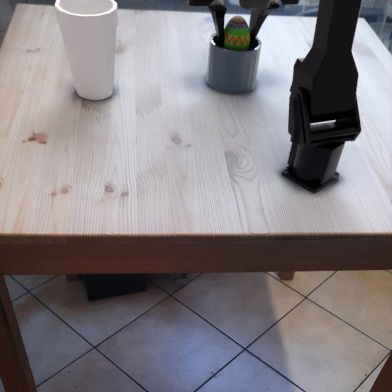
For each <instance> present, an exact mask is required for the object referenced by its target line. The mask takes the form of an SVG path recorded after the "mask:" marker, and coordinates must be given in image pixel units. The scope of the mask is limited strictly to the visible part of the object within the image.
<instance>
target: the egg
mask: <svg viewBox="0 0 392 392" xmlns="http://www.w3.org/2000/svg"><path fill="white" fill-rule="evenodd" d="M249 44H250V31H249V24H248V22H247V21H246V19H245V18H244V17H243V16H241V15H235V16H232V17H231V18H230V19H229V20H228V21H227V22H226V24H225V25H224V43H223V48H224V49H228V50H233V51H247V50H248V48H249Z"/></svg>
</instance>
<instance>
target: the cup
mask: <svg viewBox="0 0 392 392" xmlns="http://www.w3.org/2000/svg"><path fill="white" fill-rule="evenodd" d="M208 44H209V45H208V55H207V56H208V57H207V68H206V83H207V85H208V86H209V87H210V88H211V89H212V90H214V91H216V92H218V93H219V92H220V93H222V94H227V95H243V94H247V93H250V92H251V91H253V90H254V88H255V87H256V82H257V76H258V69H259V64H260V56H261V50H262V44H263V42H262V41H261V39H260V38H259V37H258V36H257V37H256V39H255V41H254V43H253V45H252V47H251V48H248V50H247V51H233V50H228V49H224V48H222V47H220V46H219V45H218V40H217V36H216V32H214V33H212V34H211V35H210V37H209V43H208Z"/></svg>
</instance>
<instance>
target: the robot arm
mask: <svg viewBox="0 0 392 392" xmlns="http://www.w3.org/2000/svg"><path fill="white" fill-rule="evenodd" d="M185 1H186V3H187V4H188V6H192V7H205V9H207V11H209V12H210V15H211V18H212V22H213V26H214V31H215V33H216V36H217V40H218V45H219V46H220V47H222V48H223V43H224V28H225V19H226V18H225V17H226V13H227V11H228V7H227V6H226V5H225V3H224V1H225V0H185ZM279 2H280V4H282V5H284V6H291V5H292V6H293V5H299V4H300V0H279ZM362 2H363V0H319V2H318V9H317V15H316V21H315V27H314V32H313V39H312V45H311V48H310V49H309V51H308V52H307V54H306V55H305V57H298V58H296V60H295V61H294V65H293V69H292V80H291V85H290V88H289V93H290V95H289V98H288V100H289V101H288V116H287V117H288V119H287V127H288V128H287V133H288V134H289V135H290V139H289V141H290V142H291V145H290V150H289V153H288V157H287V162H286V164H287V166H286V167H284V168H282V170H281V174H282V175H284V176H286V177H287V178H289V179H290V180H292V181H294V182H295V183H296V184H298V185H300V186H301V187H304V188H305V189H307V190H309V191H310V192H312V193H317V192H318V191H320V190H321V189H323V188H325V187H327V186H328V185H329V184H331V183H333V182H334V181H336V180H337V179H340V172H338V171H337V169H338V166H339V162H340V159H341V157H342V153H343V150H344V148H345V144H346V143H347V142H355V141H356V140H357V138H358V137H359V136H360V134H361V133H362V123H361V115H360V110H359V103H358V95H357V90H358V83H359V75H360V74H359V70H358V68H357V64H356V61H355V57H354V55H353V45H354V41H355V36H356V31H357V26H358V21H359V16H360V13H361V12H360V11H361V7H362ZM238 4H239V6H240V7H241V8H242V9H245V10H250V14H249V15H250V16H249V24H248V27H249V31H250V44H249V48H251V47H252V45H253V43H254V41H255V39H256V37H257V38H258V34H259V32H260V30H261V29H262V26H263V24H264V23H265V21H266V19H267V18H268V16H269V15H270V14H272V13H273V12H274V11H278V10H280V8H281V5H280V4H279V3H278V0H238Z"/></svg>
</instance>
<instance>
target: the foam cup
mask: <svg viewBox="0 0 392 392" xmlns="http://www.w3.org/2000/svg"><path fill="white" fill-rule="evenodd" d="M54 10H55V17H56V23H57V24H58V26H59V31H60V32H61V34H60V35H61V38H62V42H63V45H64V49H65V53H66V56H67V61H68V63H69V64H68V65H69V68H70V72H71V76H72V80H73V84H74V87H75V89H76V90H75V91H76V93H77V95H78V96H79V97H81V98H83V99H85V100H91V101H97V100H98V101H99V100H100V101H101V100H104V99H107V98H108V99H109V98H110V97H111V96H112V95H113V94H114V85H115V83H114V81H115V63H116V47H117V46H116V45H117V44H116V43H117V27H118V26H119V12H118V2H116V1H115V0H55V3H54Z"/></svg>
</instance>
